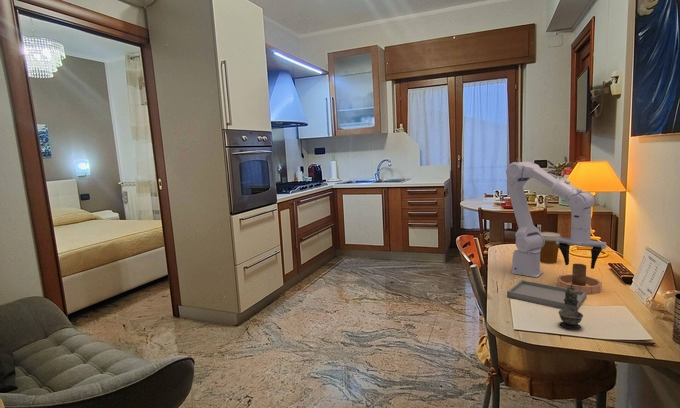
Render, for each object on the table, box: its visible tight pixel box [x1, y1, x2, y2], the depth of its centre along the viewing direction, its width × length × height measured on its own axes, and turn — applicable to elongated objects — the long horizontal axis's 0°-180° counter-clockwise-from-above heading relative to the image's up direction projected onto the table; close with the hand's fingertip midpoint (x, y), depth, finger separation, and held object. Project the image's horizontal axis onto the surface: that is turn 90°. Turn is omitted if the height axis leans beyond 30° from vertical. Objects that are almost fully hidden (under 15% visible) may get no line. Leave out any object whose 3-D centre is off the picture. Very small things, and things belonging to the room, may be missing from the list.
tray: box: [506, 279, 587, 311], centre depth 126 cm, size 20×14×2 cm
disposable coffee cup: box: [540, 231, 562, 264], centre depth 163 cm, size 10×10×12 cm
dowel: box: [571, 263, 587, 286], centre depth 133 cm, size 4×4×8 cm
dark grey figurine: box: [558, 283, 584, 332], centre depth 105 cm, size 6×6×12 cm
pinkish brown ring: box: [556, 274, 603, 295], centre depth 133 cm, size 13×13×2 cm
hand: (579, 266), depth 132 cm, fingers open, 7 cm apart
